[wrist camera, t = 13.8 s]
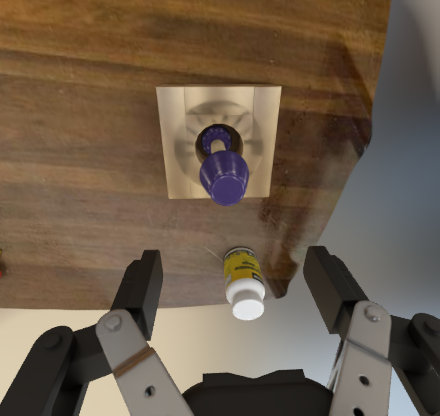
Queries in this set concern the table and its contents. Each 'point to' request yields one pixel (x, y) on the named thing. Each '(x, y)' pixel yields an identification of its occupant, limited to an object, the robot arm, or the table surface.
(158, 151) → the table surface
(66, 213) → the table surface
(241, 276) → the pill bottle
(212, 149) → the toy lamp
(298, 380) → the robot arm
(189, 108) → the socket base
